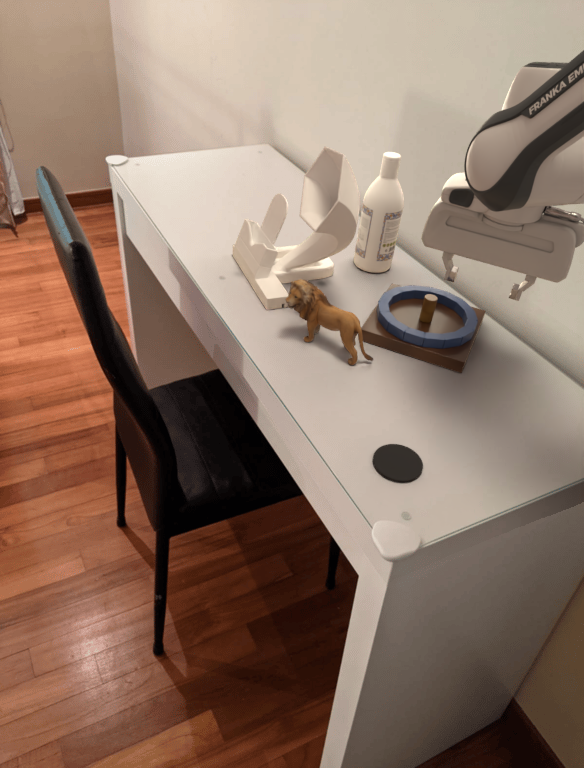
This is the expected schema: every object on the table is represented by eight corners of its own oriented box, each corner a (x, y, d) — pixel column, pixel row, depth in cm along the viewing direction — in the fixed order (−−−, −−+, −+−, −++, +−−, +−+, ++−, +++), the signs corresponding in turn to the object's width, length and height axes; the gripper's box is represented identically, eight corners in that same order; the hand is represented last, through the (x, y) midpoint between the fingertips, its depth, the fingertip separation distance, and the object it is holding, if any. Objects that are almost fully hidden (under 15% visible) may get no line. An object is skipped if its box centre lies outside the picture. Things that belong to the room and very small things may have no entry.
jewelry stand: (232, 255, 110) (235, 109, 94) (311, 246, 115) (327, 107, 99) (280, 332, 93) (294, 169, 77) (370, 318, 98) (401, 163, 82)
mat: (427, 456, 75) (428, 454, 74) (414, 490, 70) (415, 487, 70) (381, 439, 76) (382, 437, 76) (365, 471, 72) (366, 468, 72)
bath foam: (394, 260, 114) (417, 152, 101) (386, 277, 108) (409, 165, 96) (358, 252, 115) (376, 144, 102) (348, 268, 110) (366, 156, 97)
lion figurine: (276, 336, 92) (281, 283, 86) (294, 320, 95) (299, 269, 90) (365, 372, 87) (375, 319, 81) (380, 353, 90) (391, 302, 85)
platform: (482, 321, 100) (493, 289, 96) (461, 373, 88) (472, 339, 85) (389, 293, 104) (396, 261, 101) (358, 339, 93) (364, 306, 89)
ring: (483, 311, 99) (485, 302, 98) (462, 360, 88) (465, 351, 86) (393, 284, 103) (395, 276, 102) (363, 328, 92) (365, 319, 91)
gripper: (595, 208, 79) (557, 299, 88) (442, 171, 85) (420, 260, 93) (592, 226, 75) (552, 320, 83) (431, 186, 80) (409, 278, 89)
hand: (481, 288), depth 88 cm, fingers open, 8 cm apart
